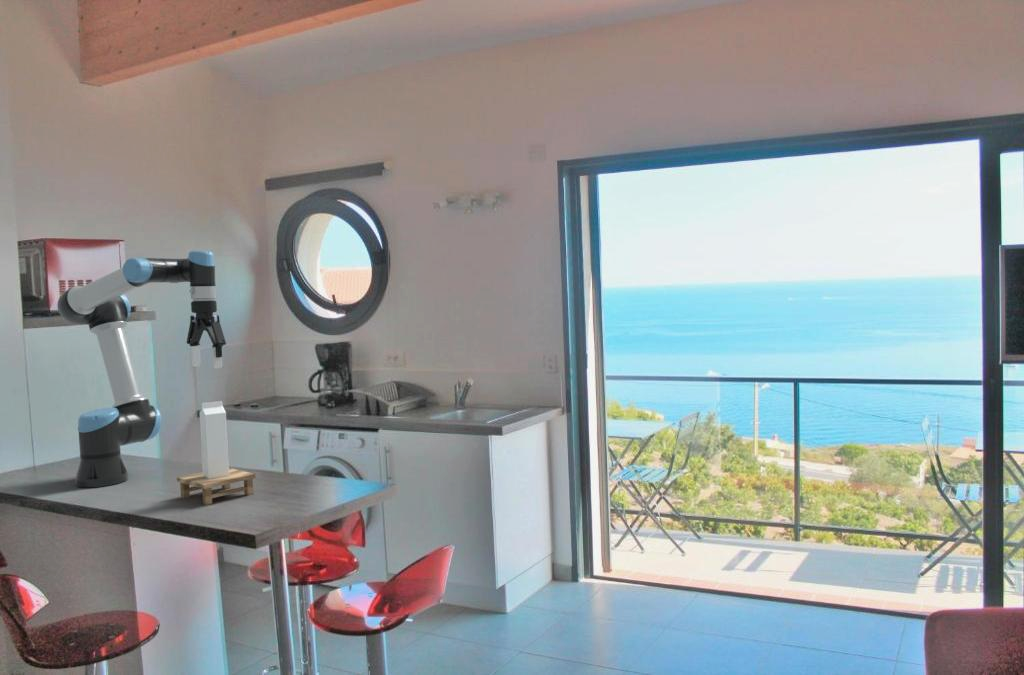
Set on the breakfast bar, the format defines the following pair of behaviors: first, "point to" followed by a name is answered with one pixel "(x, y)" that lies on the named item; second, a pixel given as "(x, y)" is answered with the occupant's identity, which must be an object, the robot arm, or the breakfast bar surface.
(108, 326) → the robot arm
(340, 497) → the breakfast bar surface
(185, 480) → the light brown square platform
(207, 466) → the milk
